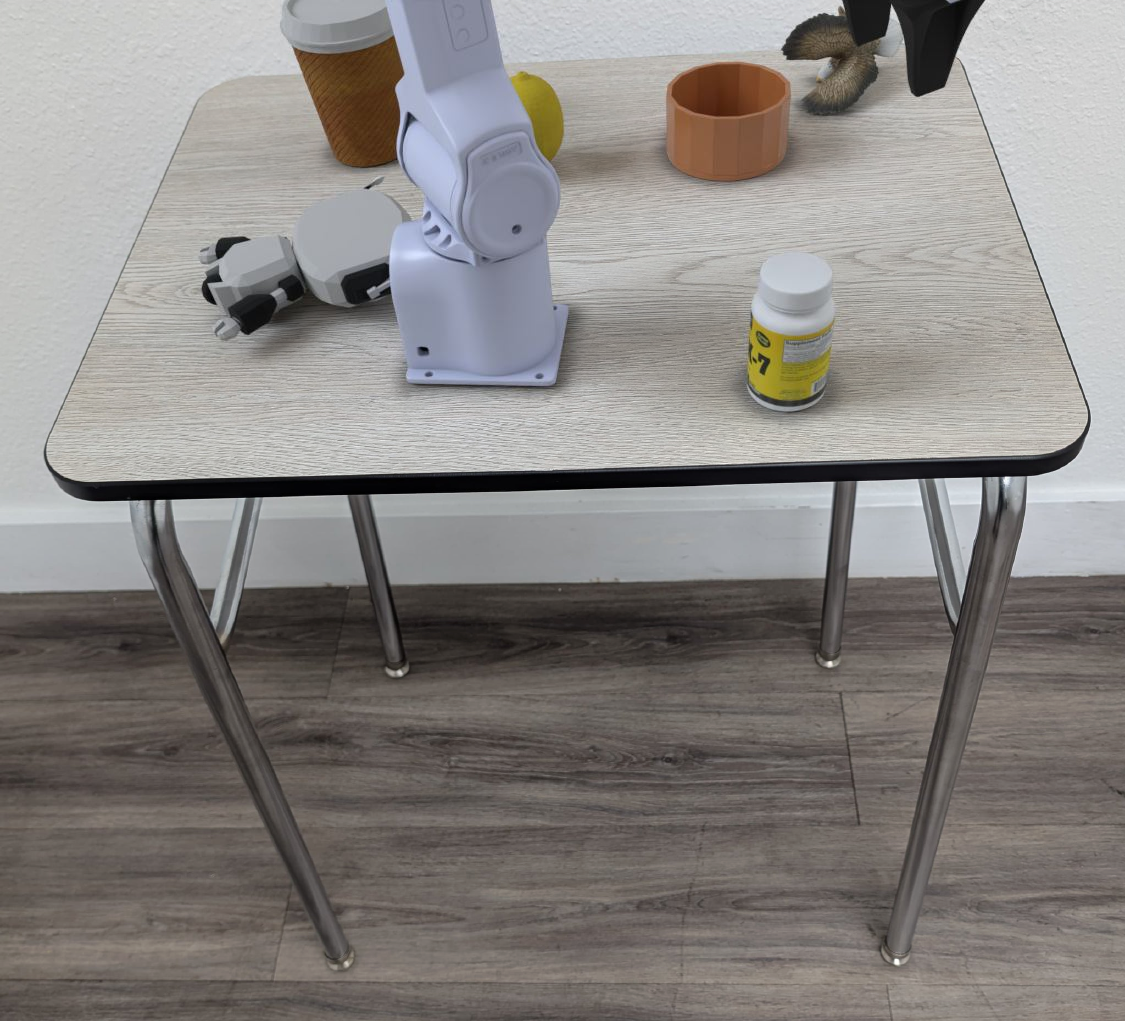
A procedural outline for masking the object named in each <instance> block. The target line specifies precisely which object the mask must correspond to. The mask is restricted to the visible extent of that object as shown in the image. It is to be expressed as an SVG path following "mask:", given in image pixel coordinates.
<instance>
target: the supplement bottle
mask: <svg viewBox="0 0 1125 1021" xmlns="http://www.w3.org/2000/svg"><path fill="white" fill-rule="evenodd" d="M833 281H834V271H833V268H832V267H831V265H830V264H829V262H828V261H826V260H825V259H824V258H822V257H820V256H818V255H816V254H813V253H810V252H803V251H787V252H781V253H777V254H775V255H772V256H770V257H769V258H767V259H766V260H765V261H764V262H763V263H762V265H761V267H760V268H759V276H758V282H757V292H756V293H755V294H754V296H753V297H752V300H751V304H750V317H749V333H748V350H747V366H746V389H747V392H748V393H749V395H750V396H751V397H752V398H753V399H754V401H755V402H756V403H758V404H759V405H761V406H763V407H765V408H766V409H769V410H773V411H777V412H796V411H797V412H798V411H801V410H806V409H807V408H808V409H809V408H810V407H812V406H814V405H816V404H817V403H818V402H819V401H820V400H821V399H822V398H823V396H824V394H825V392H826V389H827V383H828V377H829V376H828V375H829V369H830V361H831V352H832V343H833V338H834V337H833V336H834V329H835V322H836V321H835V320H836V313H837V312H836V310H837V308H836V307H837V306H836V303H835V299H834V297H833V296H832V292H833V284H834V283H833Z"/></svg>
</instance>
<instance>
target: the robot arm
mask: <svg viewBox="0 0 1125 1021" xmlns="http://www.w3.org/2000/svg"><path fill="white" fill-rule="evenodd" d="M985 1H986V0H841V2H842V5H843V9H844V11H845V14H846V18H847V22H848V26H849V30H850V33H851V36H852V39H853V42H854V43H855V44H856V45H857V46H861V45H863V44H866V43H869V42H872V41H874V40H877V39H880V38H882V37H885V36H886V32H887V29H888V24H889V19H890V18H891V11H892V9H893V10H894V13H895V15H896V17H897V20H898V23H899V24H900V25H901V29H902V33H903V42H904V49H905V61H906V62H905V63H906V64H905V65H906V76H907V82H908V87H909V90H910V93H911V94H912V95H913V96H914V97H915V98H921V97H922V96H925V95H929V94H931V93H933V92H936V91H939V90H941V89H944V88H945V87H946V85H947V82H948V79H949V77H950V74H951V71H952V68H953V64H954V63H955V62H954V61H955V59H956V57H957V55H958V54H957V53H958V51H959V48H960V46H961V43H962V41H963V38H964V36H965V35H966V32H967V31H968V28H969V26H970V25H971V22H972V21H973V19H974V18H975V16H976V15H977V13H978V12H979V10H980V8H981V7H982V5H983V4H984V3H985ZM385 3H386V7H387V10H388V14H389V18H390V21H391V25H392V29H393V32H394V36H395V40H396V44H397V47H398V51H399V55H400V58H401V62H402V66H403V69H404V73H405V74H404V76H403V78H402V79H401V80H400V81H399V82H398V83H397V85H396V88H395V91H396V95H397V98H398V102H399V107H400V126H399V132H398V137H397V161H398V164H399V167H400V168H401V170H402V173H403V174H404V176H405V177H406V178H407V179H408V181H409V182H411V183H412V184H413V185H414V186H415V187H417V188H418V189H420V190H421V192H422V195H423V200H424V203H423V209H422V217H421V218H420V219H415V220H411V221H408V222H403V223H400V224H399V225H398V226H397V227H396V229H395V231H394V234H393V238H392V242H391V248H390V259H389V271H390V286H391V293H392V294H391V298H392V303H393V308H394V311H395V316H396V320H397V324H398V329H399V334H400V338H401V343H402V347H403V351H404V356H405V361H406V364H407V371H406V373H405V379H406V381H407V382H408V383H409V384H414V385H415V384H417V385H418V384H419V385H420V384H421V385H471V386H472V385H473V386H526V387H527V386H528V387H551V386H553V385H554V384H555V383H556V382H557V377H558V371H559V367H560V362H561V361H560V360H561V355H562V350H563V344H564V340H565V334H566V328H567V323H568V318H569V313H570V312H569V306H568V305H566V304H565V303H554V299H553V288H552V287H553V286H552V278H551V268H550V257H549V256H550V255H549V248H548V246H549V245H548V238H547V236H548V235H547V233H548V232H549V231H550V229H551V228H552V225H553V224H554V222H555V220H556V218H557V215H558V212H559V209H560V205H561V199H562V189H561V183H560V179H559V176H558V174H557V171H556V169H555V168H554V166H553V165H552V163H550V162H549V161H548V160H547V159H546V158H545V157H544V156H543V155H542V154H541V152H540V150H539V149H538V147H537V144H536V141H535V137H534V133H533V127H532V123H531V120H530V118H529V116H528V114H527V112H526V110H525V108H524V106H523V104H522V102H521V100H520V98H519V96H518V94H517V92H516V90H515V88H514V87H513V85H512V83H511V81H510V79H509V78H510V77H509V75H508V73H507V70H506V68H505V64H504V60H503V54H502V49H501V43H500V40H499V33H498V29H497V24H496V19H495V14H494V9H493V4H492V0H385Z"/></svg>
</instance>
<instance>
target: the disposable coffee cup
mask: <svg viewBox="0 0 1125 1021" xmlns="http://www.w3.org/2000/svg"><path fill="white" fill-rule="evenodd" d="M279 30H280V32H281V34H282V36H283V37H284V38H285V39H286V41H287V42H288V44H289V45H291V47H292V50H293V53H294V55H295V59H296V61H297V63H298V66H299V69H300V71H301V73H302V76H303V80H304V82H305V84H306V87H307V90H308V92H309V95H310V97H311V100H312V103H313V105H314V108H315V109H316V110H315V111H316V112H317V115H318V118H319V120H320V124H321V126H322V128H323V131H324V133H325V136H326V138H327V141H328V144H329V147H330V149H331V152H332V155H333V158H334V159H335V160H336V161H337V162H339V163H340V164H344V165H346V166H351V167H361V168H362V167H373V166H379V165H382V164H383V165H384V164H386V163H389V162H391V161H393V160H395V159H398V157H397V137H398V132H399V126H400V107H399V102H398V98H397V95H396V91H395V88H396V85H397V83H398V82H399V81H400V80H401V79H402V78H403V76H404V74H405V73H404V69H403V66H402V62H401V58H400V55H399V51H398V47H397V44H396V40H395V36H394V32H393V29H392V25H391V21H390V18H389V14H388V10H387V7H386V3H385V0H284V1H283V3H282V7H281V20H280V21H279Z"/></svg>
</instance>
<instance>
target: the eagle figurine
mask: <svg viewBox="0 0 1125 1021" xmlns="http://www.w3.org/2000/svg"><path fill="white" fill-rule="evenodd" d="M837 13H838V15H834V14H829V13H827V12H823V13H820V12H819V13H817V15H813V16H812V17H809V18H807V20H804V21H802V22H801V23H799V24H797V25H796V26H795V28H794V29H793V30H791V31H790V33H789V35H788V36H787V37H786V38H785V40H784V41H785V42H784V44H783V45H782V47H781V49H780V50H781V51H782V55H783V56H785V60H786V61H818V60H823V59H827V58H829V60H827V62H826V63H825V64H824V65H823V66H822V67H821V69H819V70H818V73H817V77H816V79H815V82H816V83H819V82H820V81H821V80H822V81H821V83H820V84H818V85H817V86H816V87H815V88H814V89H812V90H811V91H810V92H809V93H807V94H806V95H805V96H803V97H802V98H801V100H800V102H801V103H802V108H805V112H806V113H810V114H811V115H818V114H820V115H826V114H828V113H831V114H832V115H834V114H836V113H837V112H839V113H842V112H845V111H846V110H848V109H849V108H851V107H853V106H854V105H855V104H856V103H858V102H859V101H860V97H862V96H863V95H864V94H865V91H866V90H867V89H868V88H869V87H870V86H871V84H874V83H875V82H877V79H878V75H879V74H880V72H879V67H878V66H877V62H876V61H875V60H876V56H878V57H883V58H894V57H895V56H896V54H897V53H898V51H899V49H900V47H901V44H902V43H903V42H904V37H903V33H902V29H901V25H900V23H899V21H897V20H895V19H893V18H892V17H890V19H889V24H888V29H887V32H886V36H885V37H882V38H880V39H877V40H874V41H872V42H869V43H866V44H863V45H861V46H857V45H856V44H855V43H854V42H853V39H852V36H851V33H850V30H849V26H848V22H847V18H846V14H845V9H844V7H843V6H841V5H839V6H838V7H837Z"/></svg>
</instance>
